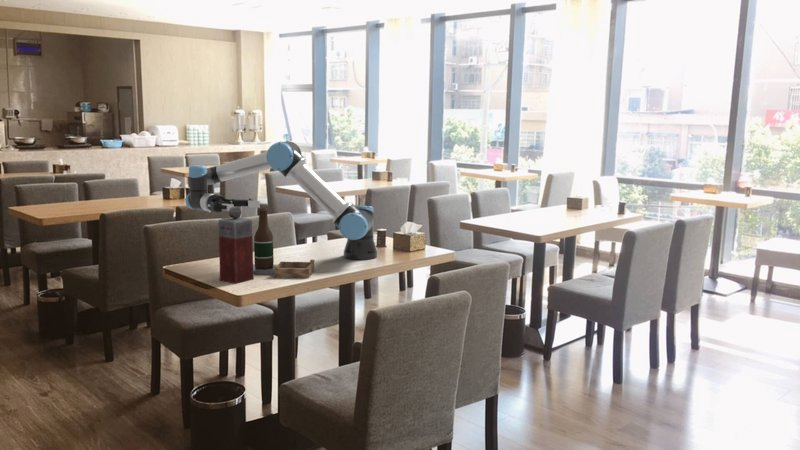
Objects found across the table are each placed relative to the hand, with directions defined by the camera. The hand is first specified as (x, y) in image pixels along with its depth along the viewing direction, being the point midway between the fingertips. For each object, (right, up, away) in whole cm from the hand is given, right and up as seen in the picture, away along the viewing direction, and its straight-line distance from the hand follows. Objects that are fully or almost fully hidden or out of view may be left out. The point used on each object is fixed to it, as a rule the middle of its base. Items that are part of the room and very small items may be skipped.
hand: (246, 206), depth 278 cm
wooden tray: (+21, -27, -8) cm, 35 cm away
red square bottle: (0, -29, -18) cm, 34 cm away
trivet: (+8, -26, -3) cm, 28 cm away
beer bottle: (+8, -25, -4) cm, 26 cm away
